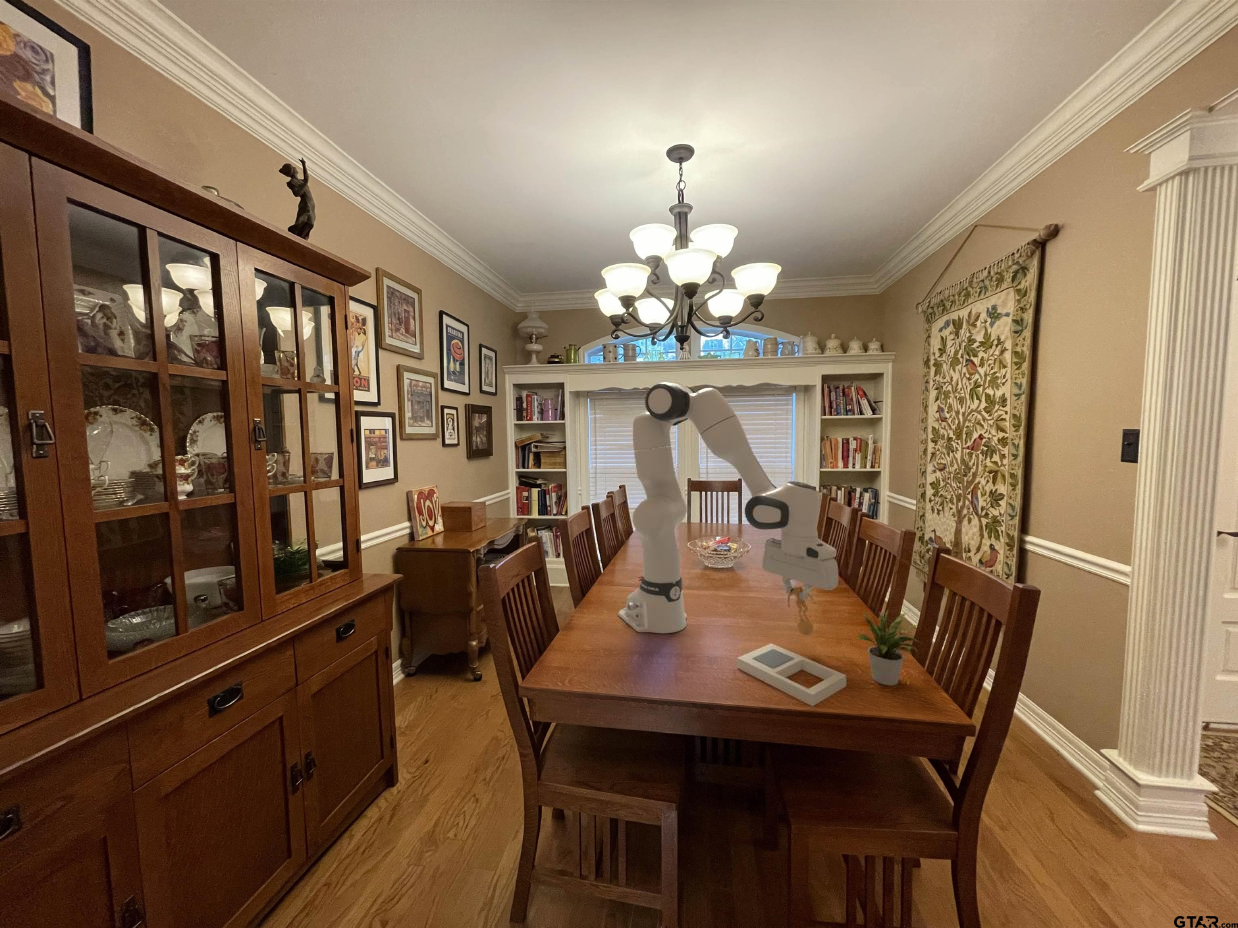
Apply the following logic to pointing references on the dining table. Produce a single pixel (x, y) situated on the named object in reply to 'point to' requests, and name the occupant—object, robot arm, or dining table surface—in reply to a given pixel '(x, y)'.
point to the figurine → (803, 624)
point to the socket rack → (782, 663)
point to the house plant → (886, 649)
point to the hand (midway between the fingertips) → (796, 596)
